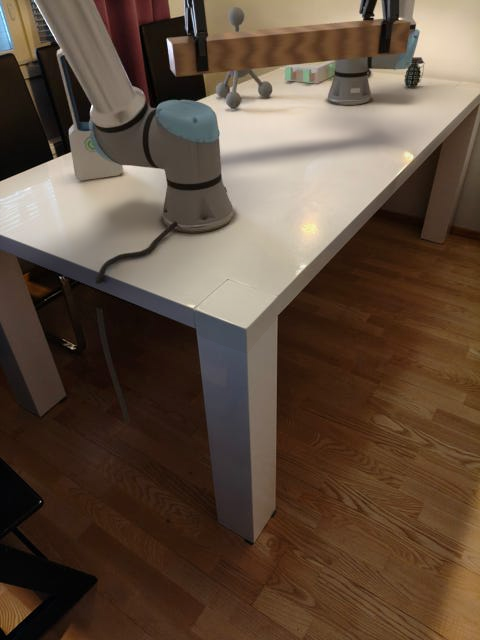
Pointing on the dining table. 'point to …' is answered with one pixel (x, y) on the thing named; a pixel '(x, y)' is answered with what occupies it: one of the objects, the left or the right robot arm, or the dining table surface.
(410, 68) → the grenade
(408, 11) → the right robot arm
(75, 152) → the electronic device
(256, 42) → the long wooden beam
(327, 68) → the decorative block
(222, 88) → the molecular model
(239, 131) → the dining table surface
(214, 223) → the left robot arm
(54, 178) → the dining table surface
